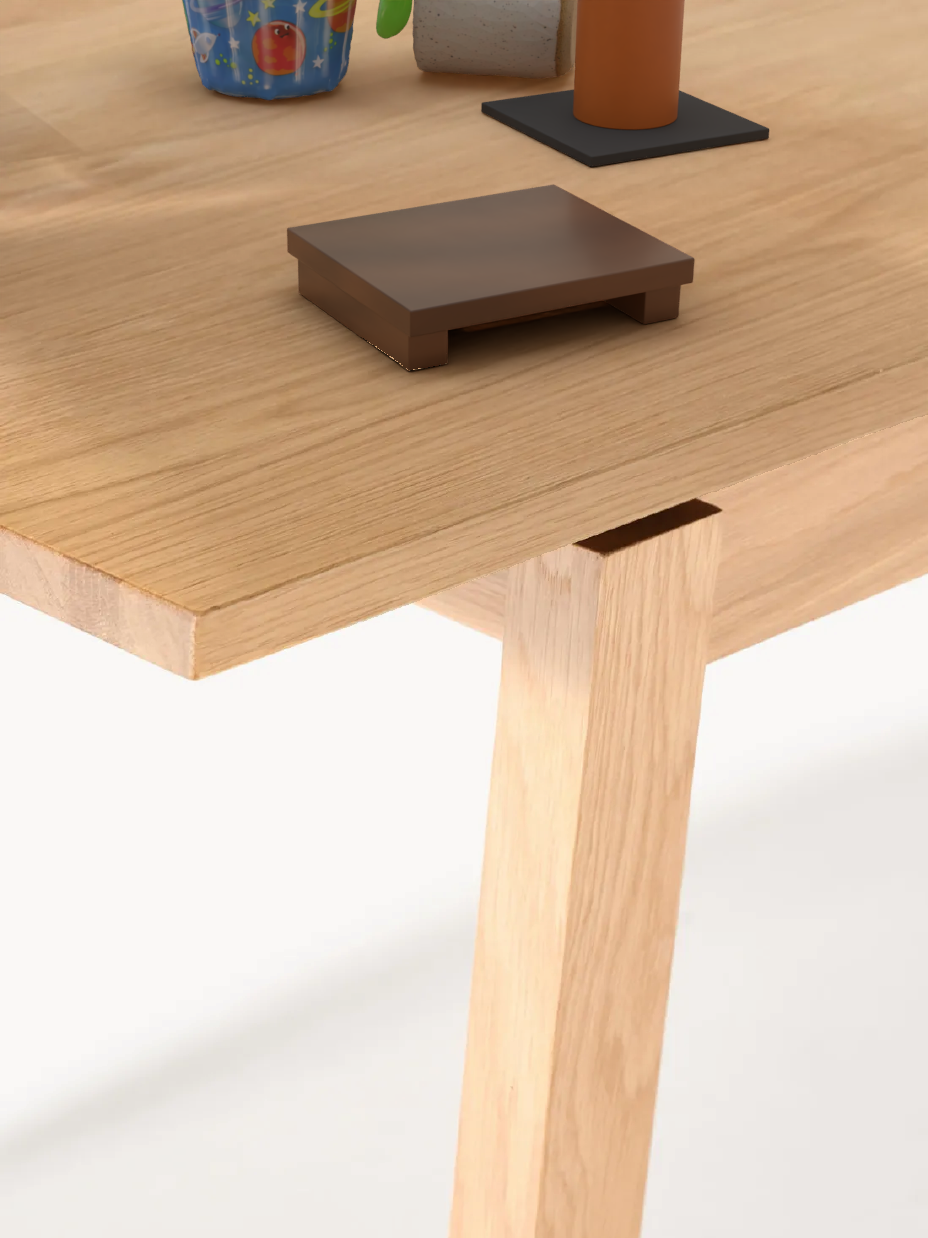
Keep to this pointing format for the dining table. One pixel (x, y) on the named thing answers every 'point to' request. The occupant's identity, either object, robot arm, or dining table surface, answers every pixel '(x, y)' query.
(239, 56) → the snack cup
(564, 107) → the mat
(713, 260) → the dining table surface
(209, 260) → the dining table surface
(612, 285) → the low wooden stand
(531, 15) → the ceramic mug
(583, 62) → the spice bottle
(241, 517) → the dining table surface
